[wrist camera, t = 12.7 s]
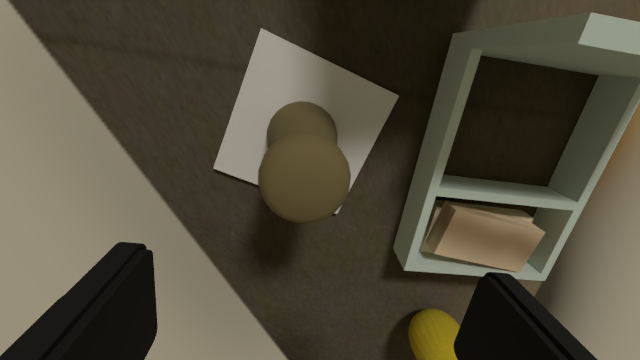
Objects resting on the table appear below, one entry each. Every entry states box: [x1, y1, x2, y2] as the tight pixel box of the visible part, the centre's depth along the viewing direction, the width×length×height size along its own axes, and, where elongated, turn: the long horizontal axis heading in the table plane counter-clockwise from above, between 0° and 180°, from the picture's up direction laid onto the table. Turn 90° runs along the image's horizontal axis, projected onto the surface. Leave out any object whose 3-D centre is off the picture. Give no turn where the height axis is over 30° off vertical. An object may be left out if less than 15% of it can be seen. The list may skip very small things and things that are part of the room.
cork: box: [258, 101, 351, 223], centre depth 20 cm, size 6×6×11 cm
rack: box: [393, 13, 640, 281], centre depth 23 cm, size 20×15×12 cm
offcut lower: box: [419, 200, 534, 253], centre depth 30 cm, size 5×10×2 cm, turn 81°
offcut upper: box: [425, 200, 546, 273], centre depth 28 cm, size 5×9×2 cm, turn 74°
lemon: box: [409, 308, 460, 360], centre depth 31 cm, size 6×6×8 cm
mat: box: [213, 28, 399, 214], centre depth 26 cm, size 12×12×1 cm
